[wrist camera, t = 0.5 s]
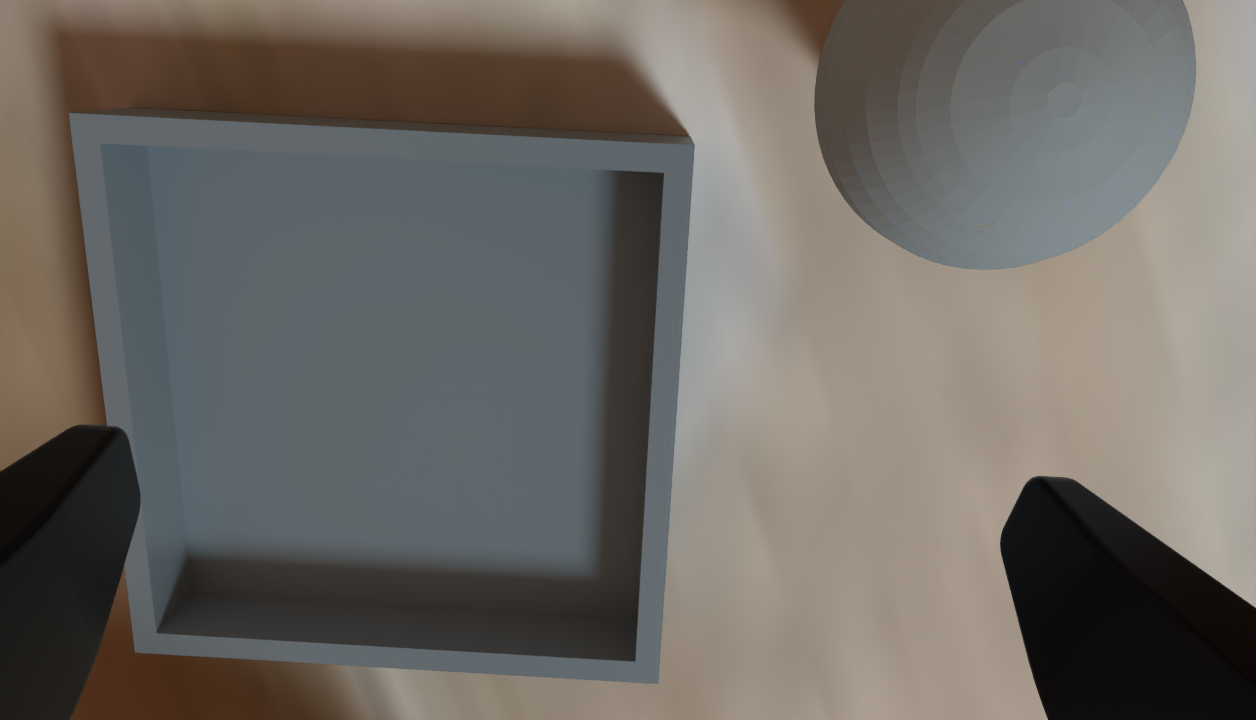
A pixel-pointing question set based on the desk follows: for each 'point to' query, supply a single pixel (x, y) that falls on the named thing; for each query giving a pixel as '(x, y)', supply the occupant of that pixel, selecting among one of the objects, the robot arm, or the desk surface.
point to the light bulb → (1001, 119)
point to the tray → (391, 385)
